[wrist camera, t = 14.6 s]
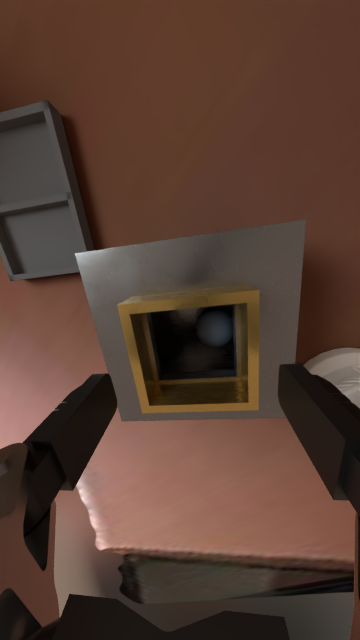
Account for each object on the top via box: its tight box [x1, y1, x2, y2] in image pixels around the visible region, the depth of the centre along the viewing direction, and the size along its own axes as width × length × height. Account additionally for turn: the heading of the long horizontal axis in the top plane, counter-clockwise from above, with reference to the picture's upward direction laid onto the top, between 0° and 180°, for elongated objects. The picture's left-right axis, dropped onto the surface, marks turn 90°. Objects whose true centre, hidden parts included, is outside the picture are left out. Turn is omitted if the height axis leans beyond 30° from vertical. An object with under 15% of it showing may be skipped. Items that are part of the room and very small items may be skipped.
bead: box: [196, 309, 233, 347], centre depth 19 cm, size 4×4×4 cm
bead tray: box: [0, 100, 95, 281], centre depth 19 cm, size 10×14×2 cm
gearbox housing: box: [75, 219, 306, 421], centre depth 17 cm, size 14×17×11 cm
